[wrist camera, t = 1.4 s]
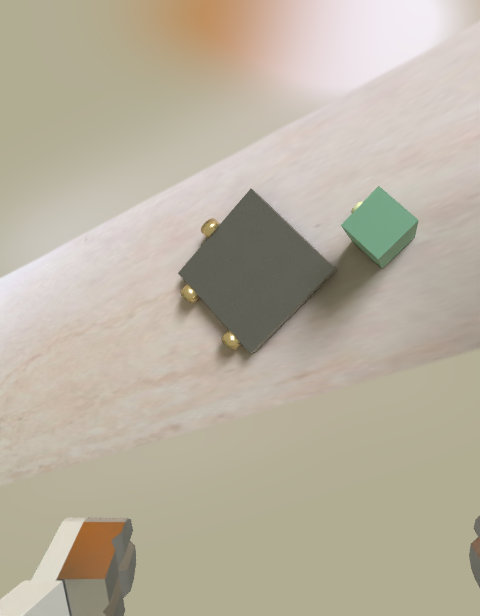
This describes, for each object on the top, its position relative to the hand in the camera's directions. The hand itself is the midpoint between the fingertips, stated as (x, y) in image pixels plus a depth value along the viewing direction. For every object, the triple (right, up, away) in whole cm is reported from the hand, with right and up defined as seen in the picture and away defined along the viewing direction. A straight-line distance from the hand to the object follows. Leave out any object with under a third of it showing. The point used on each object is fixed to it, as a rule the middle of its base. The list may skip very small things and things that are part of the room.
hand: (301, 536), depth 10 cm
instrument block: (+12, +12, +29) cm, 34 cm away
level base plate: (0, +9, +34) cm, 35 cm away
